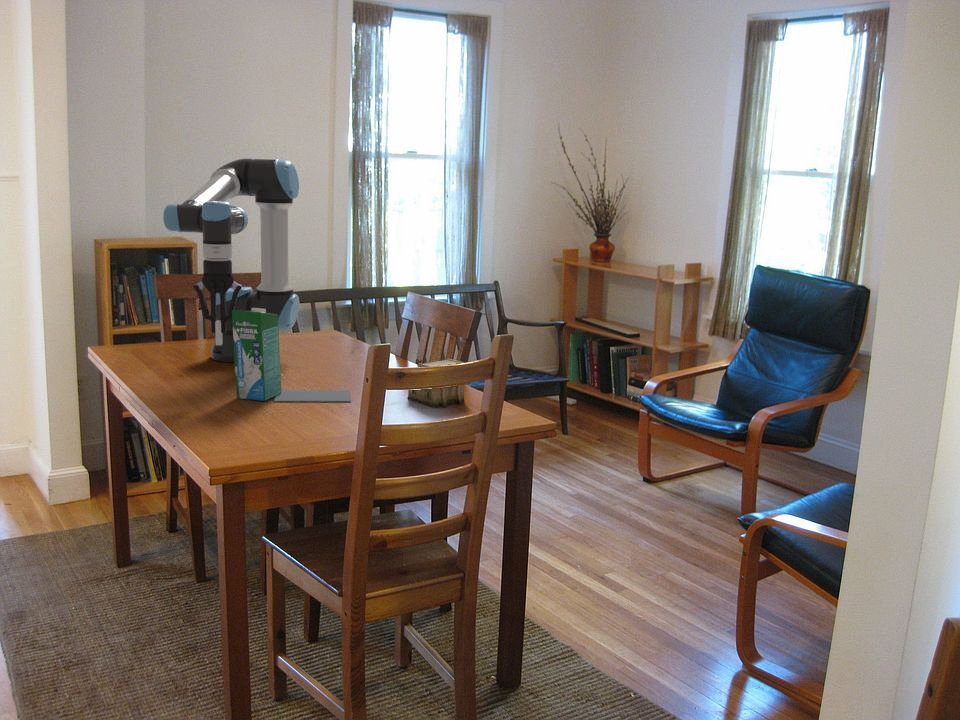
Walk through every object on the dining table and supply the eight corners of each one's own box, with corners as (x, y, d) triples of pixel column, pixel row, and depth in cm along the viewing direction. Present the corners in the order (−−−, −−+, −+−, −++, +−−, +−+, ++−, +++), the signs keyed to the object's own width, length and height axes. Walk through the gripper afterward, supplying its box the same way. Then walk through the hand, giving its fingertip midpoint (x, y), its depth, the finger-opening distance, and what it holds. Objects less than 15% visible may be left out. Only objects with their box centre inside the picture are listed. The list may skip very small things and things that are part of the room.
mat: (276, 391, 274) (276, 389, 274) (350, 391, 277) (350, 390, 277) (274, 402, 262) (274, 400, 262) (350, 402, 265) (350, 400, 265)
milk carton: (281, 393, 270) (277, 306, 264) (264, 401, 262) (260, 311, 256) (254, 390, 273) (249, 304, 267) (236, 398, 264) (231, 309, 259)
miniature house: (474, 402, 271) (475, 363, 269) (438, 410, 261) (439, 369, 259) (438, 391, 282) (439, 353, 279) (402, 398, 272) (403, 359, 269)
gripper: (190, 260, 253) (192, 346, 258) (240, 261, 255) (241, 347, 260) (194, 256, 260) (196, 341, 265) (243, 258, 262) (244, 341, 267)
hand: (219, 344), depth 262 cm, fingers closed
